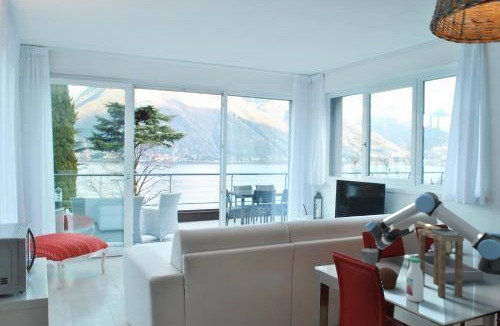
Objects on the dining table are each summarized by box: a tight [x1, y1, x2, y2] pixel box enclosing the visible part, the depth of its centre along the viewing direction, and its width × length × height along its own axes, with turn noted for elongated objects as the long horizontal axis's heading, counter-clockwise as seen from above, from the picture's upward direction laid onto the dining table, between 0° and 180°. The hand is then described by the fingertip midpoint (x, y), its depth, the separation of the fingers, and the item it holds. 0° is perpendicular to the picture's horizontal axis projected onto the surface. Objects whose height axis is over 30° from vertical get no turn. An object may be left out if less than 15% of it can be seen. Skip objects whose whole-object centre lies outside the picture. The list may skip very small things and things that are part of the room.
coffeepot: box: [360, 244, 383, 267], centre depth 224 cm, size 15×9×18 cm, turn 113°
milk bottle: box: [405, 257, 425, 303], centre depth 188 cm, size 8×8×20 cm
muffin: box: [378, 267, 399, 291], centre depth 205 cm, size 12×11×10 cm
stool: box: [417, 228, 465, 299], centre depth 200 cm, size 21×12×30 cm, turn 7°
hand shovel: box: [416, 220, 460, 237], centre depth 205 cm, size 29×9×3 cm, turn 7°
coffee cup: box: [446, 241, 453, 254], centre depth 281 cm, size 9×9×12 cm
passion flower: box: [427, 242, 450, 257], centre depth 269 cm, size 11×11×12 cm
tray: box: [410, 254, 484, 285], centre depth 229 cm, size 35×22×6 cm, turn 7°
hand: (403, 226), depth 234 cm, fingers open, 13 cm apart
